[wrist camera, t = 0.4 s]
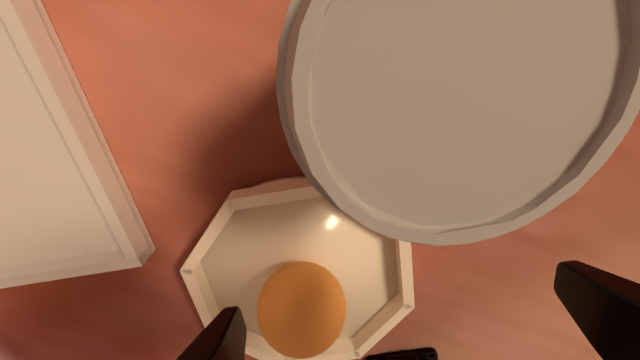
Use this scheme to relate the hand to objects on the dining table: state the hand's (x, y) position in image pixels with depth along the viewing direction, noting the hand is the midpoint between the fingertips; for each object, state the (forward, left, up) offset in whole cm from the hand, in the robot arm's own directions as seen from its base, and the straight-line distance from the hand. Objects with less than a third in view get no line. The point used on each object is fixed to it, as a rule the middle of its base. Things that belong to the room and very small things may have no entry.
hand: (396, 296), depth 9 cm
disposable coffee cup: (+5, -2, -13) cm, 14 cm away
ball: (-9, +5, -9) cm, 13 cm away
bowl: (-9, +5, -13) cm, 16 cm away
